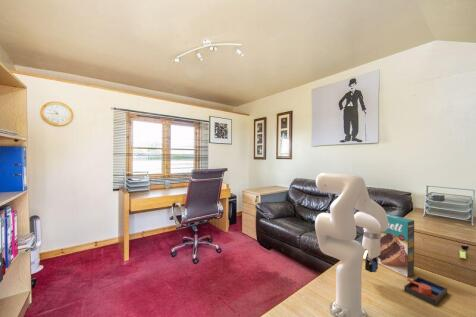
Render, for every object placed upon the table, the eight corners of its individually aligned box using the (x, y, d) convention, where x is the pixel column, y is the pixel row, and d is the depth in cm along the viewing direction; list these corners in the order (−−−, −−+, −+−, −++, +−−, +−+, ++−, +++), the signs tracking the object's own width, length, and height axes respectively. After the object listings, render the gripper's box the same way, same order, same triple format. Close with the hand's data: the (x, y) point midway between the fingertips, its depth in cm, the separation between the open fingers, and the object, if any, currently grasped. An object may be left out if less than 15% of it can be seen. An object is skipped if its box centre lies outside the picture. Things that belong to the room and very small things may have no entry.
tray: (434, 305, 92) (434, 300, 91) (404, 291, 101) (404, 286, 101) (447, 293, 99) (447, 288, 99) (417, 281, 109) (417, 276, 109)
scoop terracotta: (429, 299, 94) (429, 290, 94) (405, 288, 102) (405, 280, 102) (432, 295, 97) (433, 287, 97) (409, 285, 104) (409, 277, 104)
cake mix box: (368, 258, 133) (368, 211, 132) (374, 256, 135) (374, 210, 134) (407, 277, 112) (407, 222, 112) (413, 274, 115) (414, 220, 114)
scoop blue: (373, 273, 105) (373, 265, 105) (356, 265, 113) (356, 257, 113) (378, 270, 107) (378, 263, 107) (360, 263, 115) (360, 255, 115)
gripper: (372, 229, 115) (372, 262, 115) (355, 235, 107) (354, 270, 107) (388, 234, 109) (387, 268, 109) (370, 240, 100) (370, 277, 100)
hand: (371, 269), depth 108 cm, fingers closed on scoop blue, 4 cm apart
